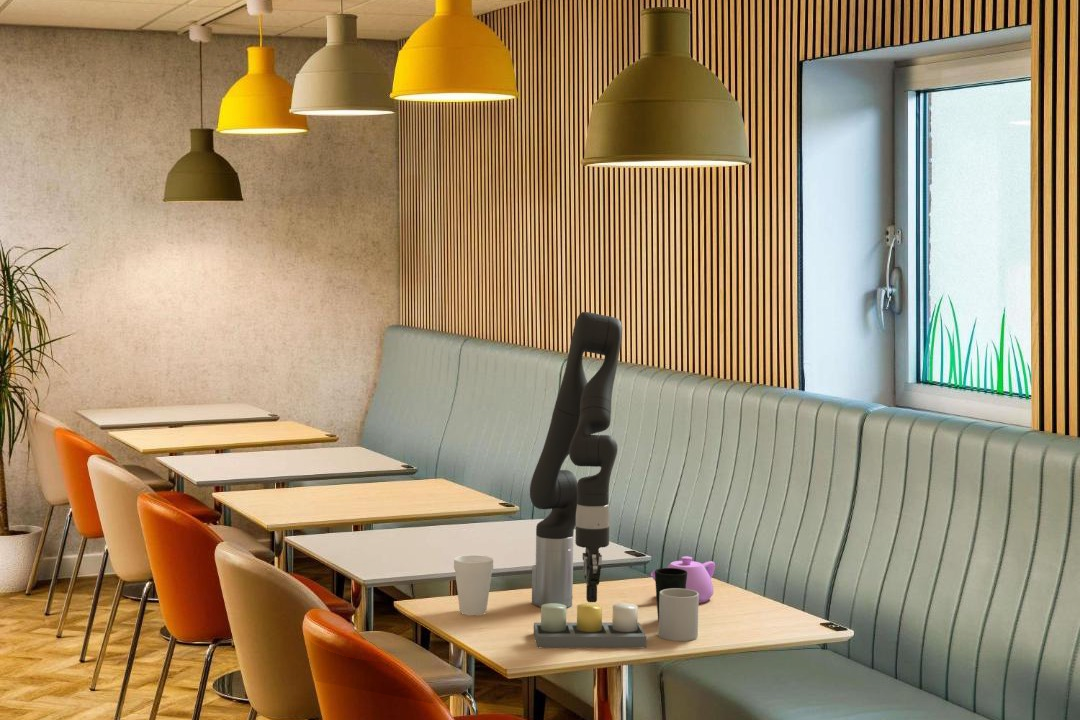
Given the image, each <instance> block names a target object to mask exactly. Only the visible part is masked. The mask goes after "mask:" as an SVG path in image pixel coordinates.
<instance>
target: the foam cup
mask: <svg viewBox="0 0 1080 720" xmlns="http://www.w3.org/2000/svg"><path fill="white" fill-rule="evenodd" d="M453 568H454V573H455V582H456V590H457V599H458V608H459V613H460V612H461V613H463V614H468V615H467V616H471V615H476V616H482V615H481V614H483V615H485V614H487V608H488V601H489V595H490V587H491V582H492V581H491V580H492V574H493V570H494V558H493V557H491V556H489V555H482V554H464V555H459V556H458V555H457V556H456V557H454V558H453ZM461 613H460V614H461ZM484 613H485V614H484ZM463 614H462V615H463Z"/></svg>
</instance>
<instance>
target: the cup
mask: <svg viewBox="0 0 1080 720" xmlns="http://www.w3.org/2000/svg"><path fill="white" fill-rule="evenodd" d="M654 571H655V580H654V582H655V596H656V609H657V622H658V623H659V594H660V591H661V590H664V589H671V588H681V589H686V581H687V571H685V570H682V569H677V568H667V567H663V568H662V567H661V568H657V569H655V570H654Z"/></svg>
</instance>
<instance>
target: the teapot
mask: <svg viewBox="0 0 1080 720" xmlns="http://www.w3.org/2000/svg"><path fill="white" fill-rule="evenodd" d="M680 559H681V560H675V561H672V562H670V563H669V565H668V566H667V567H666V568H677V569H682V570H685V571H687V581H686V589H689V590H694V591H696V592H698V593H699V604H703V603H707V602H708V601H709V600H710V599H711V598H712V596H713V595H714V584H713V580H712V578H713V575H714V572H715V569H716V564H715V562H714V561H711V560H710V561H709V560H708V561H706V562H704V563H701V562H699V561H694V560H693V557H692V556H687V555H686V556H681V558H680ZM650 576H651V578H652V579H653V580H654V581H655V570H653V571H652V572H651V573H650Z"/></svg>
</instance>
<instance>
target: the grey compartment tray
mask: <svg viewBox="0 0 1080 720" xmlns="http://www.w3.org/2000/svg"><path fill="white" fill-rule="evenodd" d="M533 636H535V637H534V640H536V641H535V645H536V648H537V647H538V648H537V649H540V648H539V647H544V648H543V649H586V648H587V649H596V648H598V649H599V648H600V649H603V648H605V649H606V648H607V649H608V648H609V649H611V648H613V649H619V648H620V649H622V648H623V649H625V648H626V649H629V648H631V649H632V648H633V649H638V648H639V649H641V648H642V649H644V648H645V649H646V648H647V635H646V633H645V631H644V629H643V627H642V625H641V623H640V622H638V625H637V630H636V631H632V632H621V631H616V630H613V629H612V622H603V621H602V630H600V631H596V632H585V631H580V630H578V629H577V622H566V630H564V631H560V632H549V631H544V630H542V629H541V622H533Z"/></svg>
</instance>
